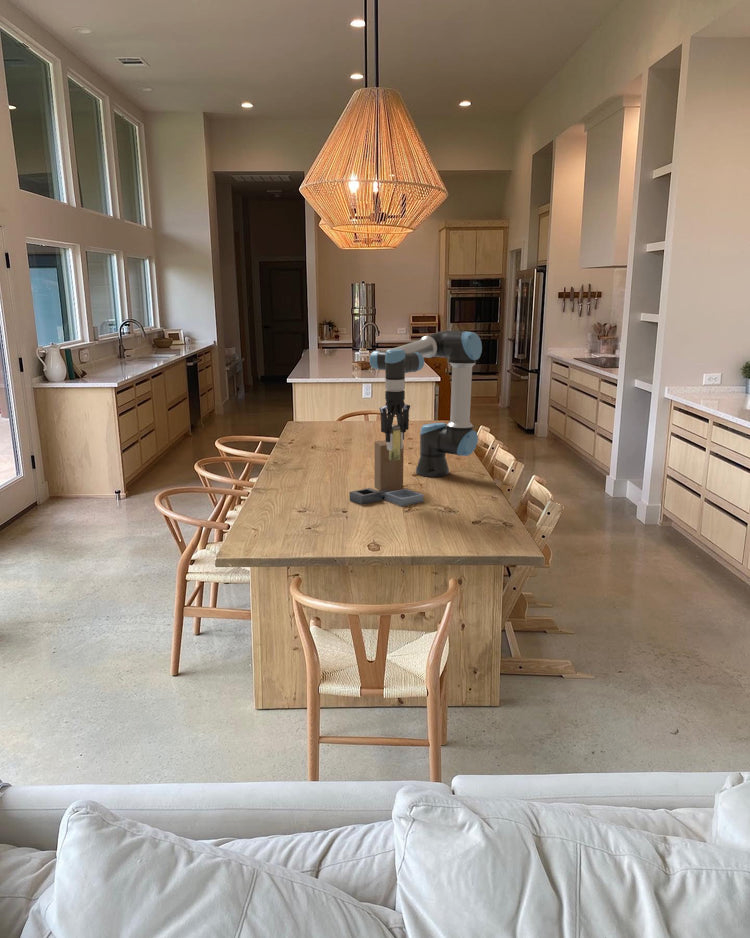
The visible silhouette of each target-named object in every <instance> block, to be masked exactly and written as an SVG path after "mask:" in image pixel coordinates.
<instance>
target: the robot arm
mask: <svg viewBox="0 0 750 938" xmlns="http://www.w3.org/2000/svg"><path fill="white" fill-rule="evenodd" d="M482 346H483V344H482V340H481V338H480V336H479V334H477V333H476V332H473V331H465V330H464V331H459V330H458V331H454V330H441V331H438V332H435V333H434V332H432V333H430V334H427V335H425V336H422V337H421V338H420V339H419V340H416V341H413V342H409V343H406V344H403V345H401V346H396V347H393V348H390V349H387V350H373V351H372V352H371V353H370V355H369V365H370V368H371V369H374V370H378V371H385V376H384V377H385V379H384V380H385V382H384V385H385V386H384V387H385V388H384V389H385V392H384V393H385V394H384V396H385V398H384V399H385V404H384V405H385V406H381V407H379V413H380V432H381V433H383V434H385V440H386V442H387V450H390V451H392V450H393V434H391V430H392V425H394V419H395V417H396V422H397V425H400V449H403V445H404V439H405V433H406V432H407V431H409V427H410V426H409V425H410V423H409V421H410V420H409V419H410V409H411V405H410V404H407V403H405V400H406V399H405V394H406V391H405V389H406V381H405V379H406V378H405V376H406V375H405V374H407V373H408V374H409V373H416V372H418V371H421V370H422V369H423V367H424V366H425V358H428V359H430V358H447V359H448V363H449V365H450V366H451V388H450V390H451V392H450V393H451V394H450V415H449V416H450V418H449V419H450V421H448V423H446V422H432V423H426V424H423V425H422V426H421V427H420V433H419V437H420V439H419V441H420V442H419V443H420V444H419V446H420V447H419V459H418V462H417V465H416V467H415V474H417V475H419V476H421V477H428V478H430V477H431V478H435V477H436V478H439V477H446V476H448V475H449V474H450V468H449V465H448V461H447V458H446V454H450V455H455V456H456V455H457V456H460V457H461V456H463V457H469V456H470V455H471V454H473V452H474V451H475V450H476V448H477V445H478V440H479V436H478V433H477V431H476V430H474V425H473V424H472V423H471V404H472V403H471V401H472V400H471V399H472V379H473V377H472V376H473V367H474V366H475V365H476V364H477V360H479V359H480V357H481V354H482V352H483V351H482V350H483V347H482Z"/></svg>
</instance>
